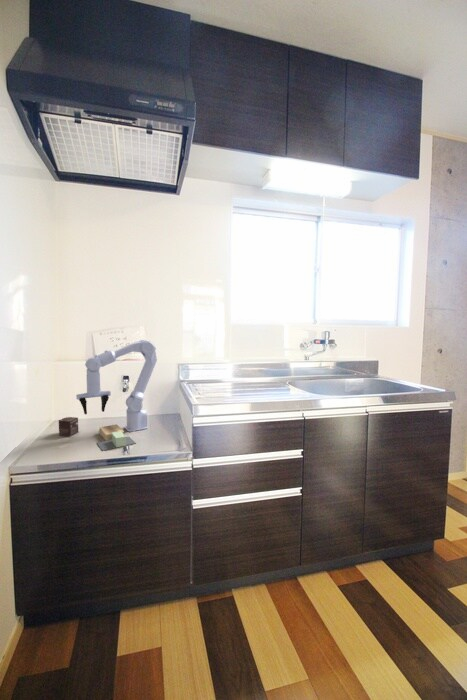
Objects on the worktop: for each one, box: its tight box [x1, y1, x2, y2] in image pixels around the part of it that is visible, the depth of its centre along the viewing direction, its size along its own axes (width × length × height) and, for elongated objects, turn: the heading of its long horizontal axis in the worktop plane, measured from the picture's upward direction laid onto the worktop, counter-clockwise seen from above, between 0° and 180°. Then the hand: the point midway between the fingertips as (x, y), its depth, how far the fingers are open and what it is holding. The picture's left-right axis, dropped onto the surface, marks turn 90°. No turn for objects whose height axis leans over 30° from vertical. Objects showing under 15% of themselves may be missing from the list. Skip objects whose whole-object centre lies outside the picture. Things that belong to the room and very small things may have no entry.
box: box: [58, 416, 79, 437], centre depth 155 cm, size 6×6×7 cm
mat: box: [96, 436, 137, 452], centre depth 145 cm, size 14×10×1 cm
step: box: [98, 424, 125, 441], centre depth 154 cm, size 8×12×3 cm, turn 35°
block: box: [112, 431, 127, 448], centre depth 144 cm, size 4×4×8 cm
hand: (94, 412), depth 155 cm, fingers open, 7 cm apart
